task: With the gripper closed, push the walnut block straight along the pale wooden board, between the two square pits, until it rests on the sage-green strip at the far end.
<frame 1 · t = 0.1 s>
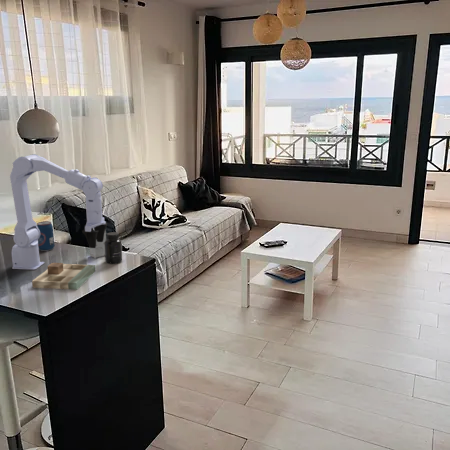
hand: (96, 244, 173), 10 cm above the countertop, tool pointing down, fingers open, 7 cm apart
soda can: (46, 249, 199), on the countertop
walnut block: (55, 272, 165), point 2 cm above the countertop, touching trap board
supplement bottle: (114, 262, 184), on the countertop
skincare box: (98, 255, 191), on the countertop
trap board: (65, 279, 165), on the countertop
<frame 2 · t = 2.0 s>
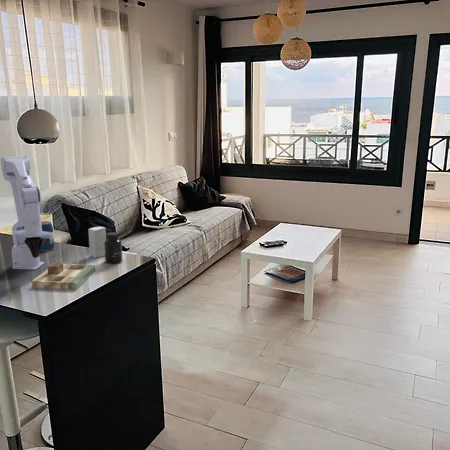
hand: (36, 256, 164), 8 cm above the countertop, tool pointing down, fingers closed
nothing on the countertop moved.
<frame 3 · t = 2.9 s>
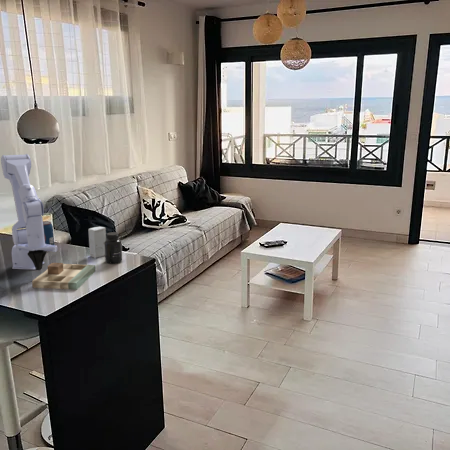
hand: (39, 269, 165), 3 cm above the countertop, tool pointing down, fingers closed
nothing on the countertop moved.
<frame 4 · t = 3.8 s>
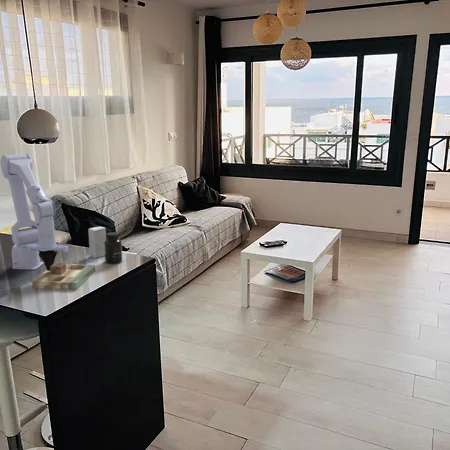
hand: (49, 269, 165), 3 cm above the countertop, tool pointing down, fingers closed
walnut block: (58, 272, 165), point 2 cm above the countertop, touching gripper, trap board
everything else where it was.
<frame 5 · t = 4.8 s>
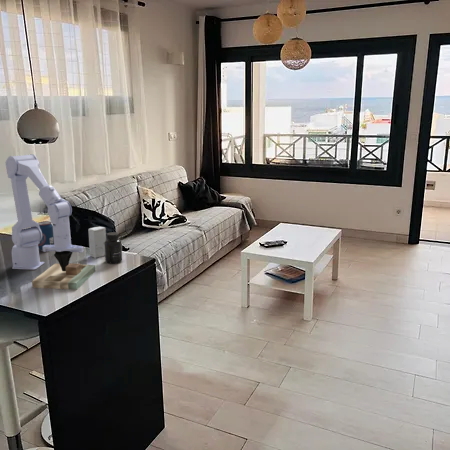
hand: (65, 270, 164), 3 cm above the countertop, tool pointing down, fingers closed
walnut block: (73, 273, 164), point 2 cm above the countertop, touching gripper, trap board
everything else where it was.
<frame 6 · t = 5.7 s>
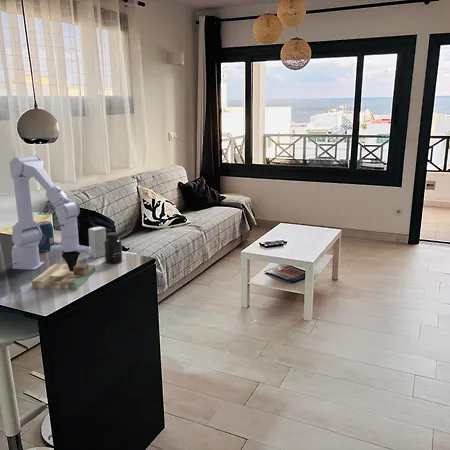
hand: (72, 270, 164), 3 cm above the countertop, tool pointing down, fingers closed
walnut block: (81, 273, 164), point 2 cm above the countertop, touching gripper, trap board
everything else where it was.
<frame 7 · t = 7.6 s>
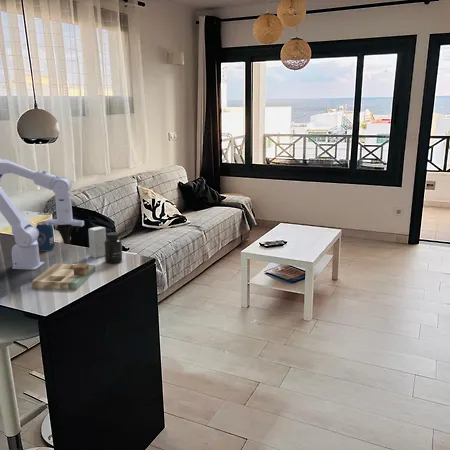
hand: (66, 243, 177), 9 cm above the countertop, tool pointing down, fingers closed
walnut block: (81, 273, 164), point 2 cm above the countertop, touching trap board
everything else where it was.
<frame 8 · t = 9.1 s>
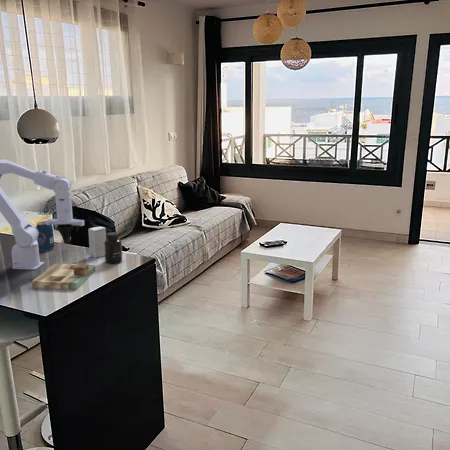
hand: (67, 242, 177), 9 cm above the countertop, tool pointing down, fingers closed
nothing on the countertop moved.
at the end: walnut block 1.0 cm from the target spot on the trap board, point 2.5 cm above the trap board's base; walnut block tilted 0° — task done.
